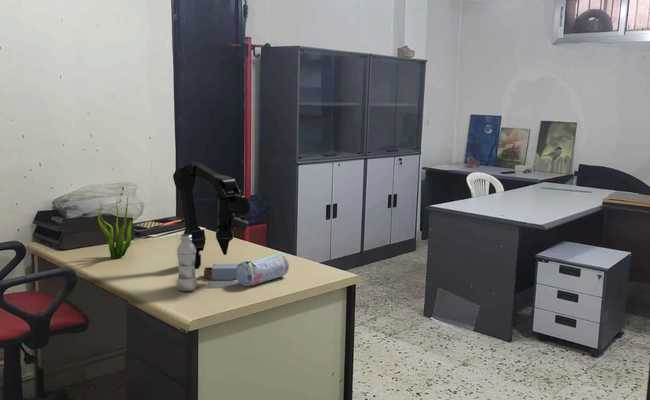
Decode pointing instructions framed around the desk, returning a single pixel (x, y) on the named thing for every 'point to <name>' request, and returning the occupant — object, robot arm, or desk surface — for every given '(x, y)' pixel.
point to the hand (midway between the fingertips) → (225, 251)
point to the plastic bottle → (186, 264)
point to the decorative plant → (117, 235)
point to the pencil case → (262, 270)
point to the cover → (224, 271)
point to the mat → (223, 284)
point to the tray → (208, 273)
